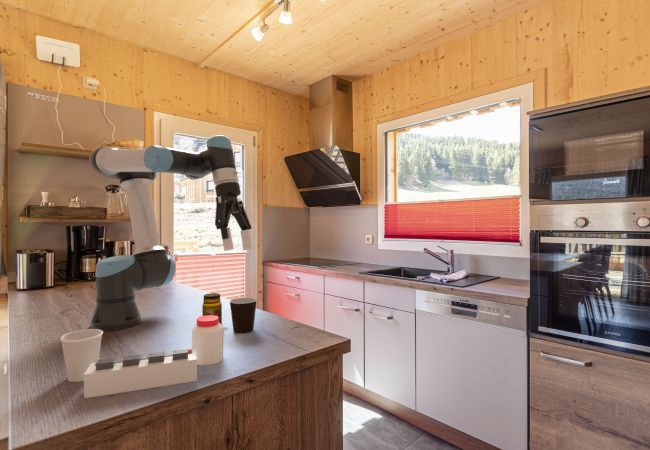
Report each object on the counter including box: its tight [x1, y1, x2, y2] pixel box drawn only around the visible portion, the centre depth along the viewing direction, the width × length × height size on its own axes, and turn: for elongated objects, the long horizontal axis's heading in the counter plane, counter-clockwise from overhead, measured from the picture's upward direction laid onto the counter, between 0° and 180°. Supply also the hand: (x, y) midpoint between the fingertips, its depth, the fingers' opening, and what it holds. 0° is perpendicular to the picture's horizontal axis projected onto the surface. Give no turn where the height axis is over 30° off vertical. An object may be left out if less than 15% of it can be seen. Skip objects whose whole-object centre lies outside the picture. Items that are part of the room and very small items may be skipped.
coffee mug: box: [229, 296, 258, 335], centre depth 119 cm, size 12×9×10 cm
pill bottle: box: [191, 315, 224, 367], centre depth 94 cm, size 8×8×11 cm
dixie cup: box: [59, 328, 104, 383], centre depth 84 cm, size 8×8×10 cm
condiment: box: [201, 292, 227, 331], centre depth 118 cm, size 7×8×12 cm
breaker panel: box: [83, 348, 198, 399], centre depth 81 cm, size 6×22×6 cm, turn 111°
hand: (239, 249), depth 112 cm, fingers open, 13 cm apart
